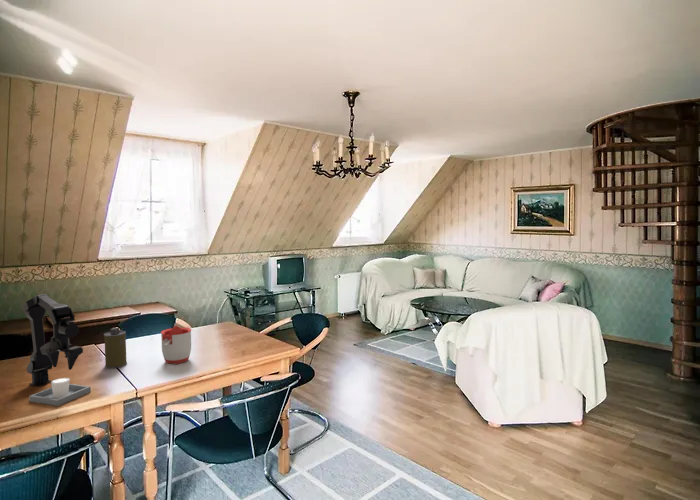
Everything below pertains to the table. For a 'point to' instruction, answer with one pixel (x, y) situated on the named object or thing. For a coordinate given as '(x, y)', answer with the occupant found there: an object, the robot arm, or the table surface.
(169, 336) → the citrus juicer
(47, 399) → the tray
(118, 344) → the canister
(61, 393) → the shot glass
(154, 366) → the table surface
